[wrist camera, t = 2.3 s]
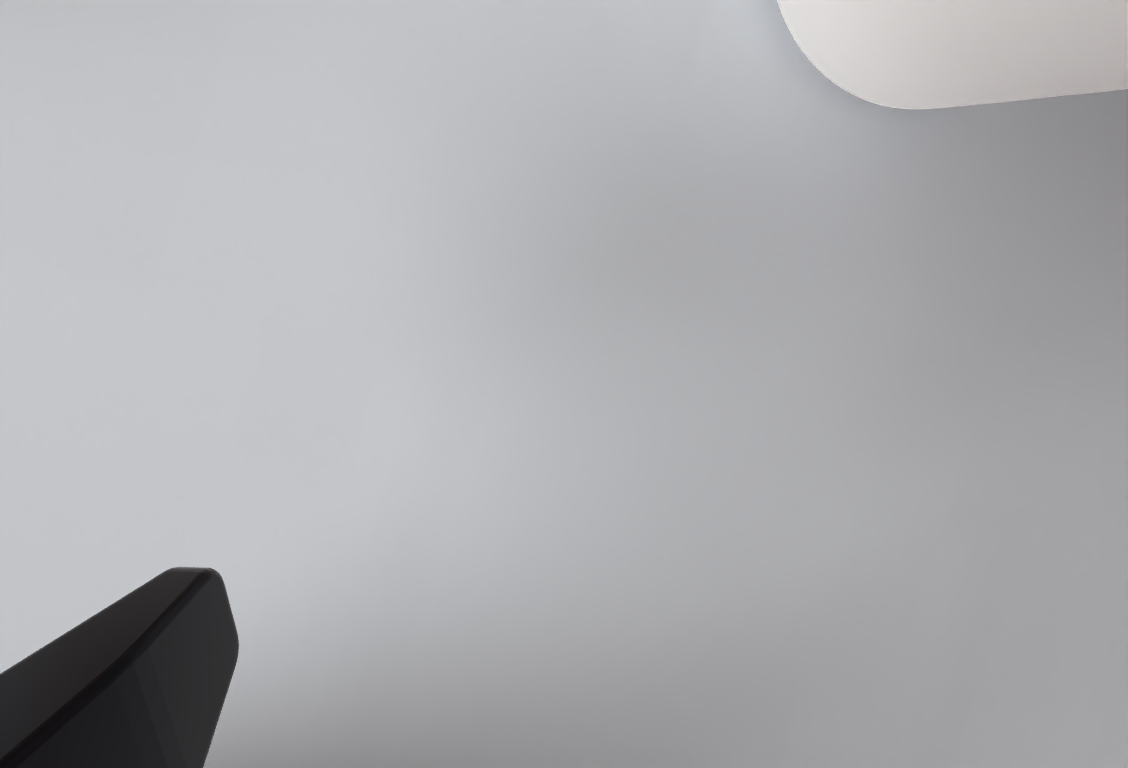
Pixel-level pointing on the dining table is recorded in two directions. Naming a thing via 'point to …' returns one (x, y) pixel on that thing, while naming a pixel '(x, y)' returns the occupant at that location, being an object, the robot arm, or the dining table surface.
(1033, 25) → the can
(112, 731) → the robot arm
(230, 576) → the dining table surface
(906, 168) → the dining table surface
